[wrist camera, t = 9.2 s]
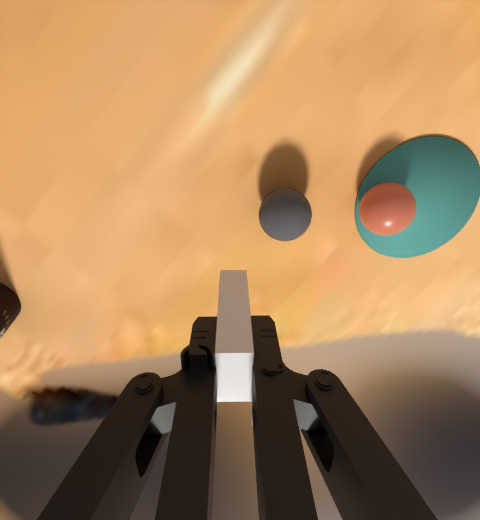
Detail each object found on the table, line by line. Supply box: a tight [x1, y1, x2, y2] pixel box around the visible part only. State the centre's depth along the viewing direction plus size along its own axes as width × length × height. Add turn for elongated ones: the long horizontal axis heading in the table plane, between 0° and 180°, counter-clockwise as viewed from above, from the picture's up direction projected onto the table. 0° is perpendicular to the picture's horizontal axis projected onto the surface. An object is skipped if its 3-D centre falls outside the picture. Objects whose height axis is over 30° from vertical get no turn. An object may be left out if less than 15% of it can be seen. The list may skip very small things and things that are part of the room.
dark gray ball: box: [259, 188, 312, 241], centre depth 32 cm, size 6×6×6 cm
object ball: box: [359, 182, 417, 235], centre depth 32 cm, size 6×6×6 cm
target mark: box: [355, 136, 480, 258], centre depth 35 cm, size 14×14×1 cm
